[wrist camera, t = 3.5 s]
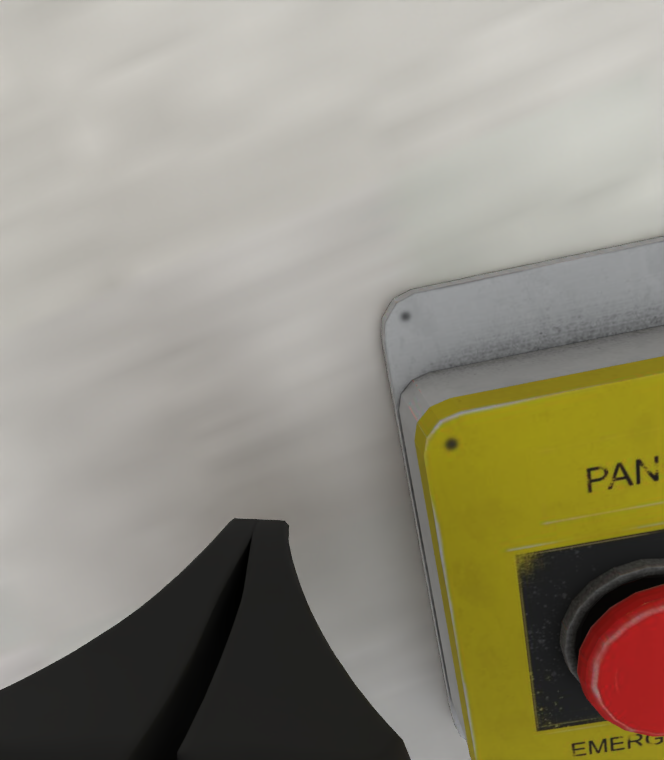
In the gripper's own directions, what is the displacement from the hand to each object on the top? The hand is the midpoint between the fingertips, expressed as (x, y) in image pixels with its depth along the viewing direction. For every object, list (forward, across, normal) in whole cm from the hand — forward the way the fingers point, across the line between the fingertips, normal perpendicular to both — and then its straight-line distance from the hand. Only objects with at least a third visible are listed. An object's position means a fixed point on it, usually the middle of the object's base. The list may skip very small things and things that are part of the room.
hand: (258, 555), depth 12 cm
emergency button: (+3, -9, 0) cm, 9 cm away
